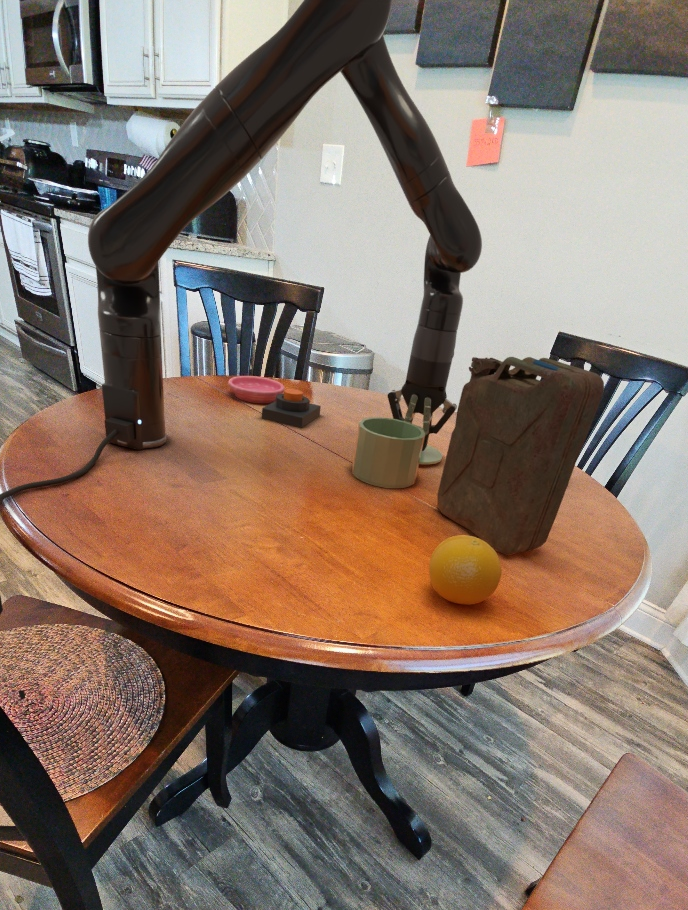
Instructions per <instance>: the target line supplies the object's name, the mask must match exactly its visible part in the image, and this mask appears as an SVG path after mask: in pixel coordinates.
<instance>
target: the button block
mask: <svg viewBox="0 0 688 910" xmlns="http://www.w3.org/2000/svg"><path fill="white" fill-rule="evenodd" d="M283 397H284V392H283V394H278V395H276V401H275V402H272V403H268V404H267V405H265V406H263V407H262V408H261V420H266V421H270V422H273V423H278V424H282V425H287V426H289V427H294V428H299V429H303V428H305V427H306V426H307V425H309V424H310V423H312V422H313V421H315V420H316V419H318V418H319V417H320V416H321V407H322V406H321V405H319V404H314V403H311V400H310V399H309V397H306V396H304V395H303V399H302V401H298V402H297V401H289V400H286V399H283Z"/></svg>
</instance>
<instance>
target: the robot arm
mask: <svg viewBox="0 0 688 910" xmlns="http://www.w3.org/2000/svg"><path fill="white" fill-rule="evenodd" d="M392 1H393V0H303V1H302V2H301V4H300V5H299V6H298V7H297V9H296V10H295V11H294V12H293V13H292V15H291V17H289V18H288V20H287V21H286V22H285V23H284V24H283V26H282V27H281V28H280V29H279V30H278V31H277V32H276V33H274V34H273V35H272V36H271V37H270V38H268V40H266V41H265V42H264V43H262V44H261V45H260V46H259V47H257V48H256V49H255V50H254V51H252V52H251V53H250V54H249V55H248V56H246V58H244V59H243V60H242V61H241V62H240V63H238V64H237V65H236V66H235V67H234V68H233V69H232V70H230V72H229V73H228V74H227V75H225V76H224V77H223V79H221V80H220V81H219V82H218V83H217V84H216V85H215V86H214V87H213V89H211V90H210V92H209V93H208V94H207V95H205V97H204V98H203V99H202V100H201V102H200V103H198V105H196V107H195V108H194V109H193V110H192V112H190V114H189V115H188V116H187V118H186V119H185V121H184V122H183V123H182V124H181V126H180V127H178V129H177V131H176V132H175V134H174V135H173V136H172V137H171V139H170V140H169V141H168V143H167V145H166V146H165V148H164V149H163V151H162V153H160V155H159V156H158V158H157V160H156V161H155V162H154V164H153V165H152V167H150V169H149V170H148V171H147V172H146V173H145V174H144V175H143V176H142V177H141V178H140V179H139V180H138V181H137V182H136V183H135V184H134V185H132V186H131V187H130V188H129V189H128V190H127V191H126V192H125V193H124V194H122V195H121V196H120V197H118V198H117V199H116V200H115V201H113V202H112V203H111V204H110V205H108V206H107V207H105V208H104V209H102V210H101V211H99V212H98V213H97V214H96V215H95V216H94V218H93V219H92V220H91V223H90V225H89V227H88V234H87V247H88V252H89V255H90V258H91V260H92V263H93V264H94V266H95V272H96V273H95V275H96V283H97V319H98V331H99V338H100V348H101V349H100V350H101V359H102V368H103V369H102V370H103V379H104V383H102V384H101V393H102V394H101V395H102V402H103V412H104V430H105V438H104V439H103V440H102V441H101V442H100V444H99V445H98V447H97V448H96V451H95V453H94V455H93V456H92V458H91V459H90V460H89V461H88V463H86V465H85V466H83V467H82V468H80V469H79V470H77V471H75V472H72V473H70V474H67V475H63V476H61V477H56V478H52V479H46V480H39V481H35V482H30V483H29V482H28V483H24V484H21V485H18V486H15V487H13V488H11V489H9V490H6V491H4V492H2V493H0V506H1V505H2V503H3V501H4V500H5V499H6V498H9V497H12V496H14V495H16V494H18V493H20V492H23V491H27V490H31V489H36V488H41V487H48V486H53V485H58V484H62V483H66V482H69V481H72V480H74V479H76V478H78V477H81V476H83V475H84V474H86V473H87V472H89V471H90V470H91V469H92V468H93V466H94V465H95V464H96V463H97V462H98V460H99V459H100V456H101V454H102V452H103V450H104V449H105V448H106V446H107V445H108V444H109V443H110V444H113V445H118V446H121V447H124V448H129V449H133V450H137V451H141V450H143V449H150V448H151V449H152V448H157V447H160V446H162V445H164V444H166V442H167V432H166V416H165V395H164V394H165V393H164V392H165V391H164V377H163V376H164V371H163V350H162V349H163V348H162V327H161V325H162V324H161V323H162V322H161V318H162V317H161V312H162V311H161V310H162V309H161V290H160V288H161V287H160V264H159V263H160V262H159V261H160V260H161V258H162V257H163V256H164V254H165V253H166V251H167V250H168V249H169V248H170V247H171V245H173V243H174V242H175V240H176V239H177V238H178V237H179V235H180V234H181V233H182V232H183V231H184V230H185V228H186V227H188V226H189V224H191V223H192V222H193V221H194V220H195V219H196V218H197V217H199V216H200V215H201V214H203V213H204V212H205V211H206V210H208V209H209V208H210V207H212V206H213V205H214V204H215V203H217V202H218V201H219V200H221V199H222V198H223V197H224V196H226V195H227V194H228V193H229V192H230V191H231V190H232V189H233V188H234V187H236V186H237V185H238V184H239V183H240V182H241V181H243V179H244V178H245V177H247V175H248V174H249V173H250V172H251V171H252V170H253V169H254V168H255V167H256V166H258V164H259V163H260V162H261V161H262V160H263V159H264V158H265V157H266V156H267V154H269V152H270V151H271V150H272V148H273V147H274V146H275V145H276V144H277V143H278V142H279V141H280V139H281V138H282V137H283V136H284V135H285V133H286V132H287V131H288V130H289V128H290V127H291V126H292V125H293V124H294V122H295V121H296V120H297V119H298V117H299V116H300V115H301V113H302V111H303V110H304V109H305V108H306V107H307V105H308V104H309V102H310V101H311V100H312V99H313V97H314V96H315V95H317V94H318V92H319V91H320V90H321V89H323V88H324V86H325V85H327V84H328V83H329V82H330V81H331V80H332V79H333V78H335V77H336V76H337V75H338V74H339V73H341V75H342V77H343V78H344V81H346V83H347V85H348V86H349V87H350V89H351V91H352V93H353V94H354V96H355V98H356V99H357V101H358V103H359V105H360V106H361V108H362V110H363V111H364V113H365V115H366V117H367V119H368V121H369V123H370V125H371V126H372V128H373V131H374V133H375V134H376V137H377V139H378V141H379V143H380V145H381V147H382V149H383V151H384V153H385V156H386V157H387V161H388V162H389V164H390V166H391V169H392V170H393V173H394V175H395V177H396V179H397V182H398V184H399V187H400V188H401V190H402V192H403V194H404V196H405V199H406V201H407V203H408V205H409V207H410V209H411V211H412V212H413V214H414V215H415V216H416V217H417V218H418V219H419V220H420V221H421V222H423V224H424V225H425V227H426V229H427V231H428V233H429V237H428V239H427V243H426V247H425V253H424V263H423V265H424V266H423V296H422V300H421V304H420V311H419V315H418V319H417V320H418V321H417V326H416V329H415V332H414V335H413V340H412V344H411V350H410V355H409V361H408V367H407V372H406V377H405V381H404V384H403V385H402V387H401V388H400V389H397V390H396V389H392V390H390V392H388V393H387V400H388V404H389V408H390V412H391V415H392V419H397V420H402V421H406V422H409V423H411V424H413V421H414V418H415V416H416V414H420V415H422V428H423V430H424V432H425V439H424V443H423V448H422V451H424V450H425V448H426V447H427V445H428V443H429V437H430V435H431V434H435V435H436V434H438V433H439V432H440V431H441V430H442V428H444V425H445V424H447V422H448V421H449V419H450V418H451V417H452V416H453V415H454V413H455V412H456V411H457V410H458V405H457V403H452V401H450V400H449V399H447V397H448V396H447V390H446V389H447V386H448V385H447V384H448V381H449V380H448V379H449V376H450V371H451V367H452V362H453V359H454V356H455V349H456V343H457V335H458V330H459V325H460V320H461V316H462V311H463V305H464V297H463V294H462V292H461V290H460V282H461V276H462V275H461V274H464V273H466V272H469V271H470V270H472V269H473V268H474V267H475V266H476V264H478V262H479V259H480V257H481V254H482V249H483V239H482V234H481V231H480V227H479V225H478V223H477V220H476V218H475V216H474V215H473V213H472V211H471V209H470V208H469V206H468V204H467V202H466V200H464V198H463V197H462V195H461V193H460V192H459V190H458V188H457V187H456V185H455V184H454V181H453V178H452V174H451V173H450V170H449V167H448V165H447V163H446V161H445V157H444V156H443V153H442V151H441V149H440V146H439V144H438V142H437V140H436V138H435V135H434V133H433V131H432V130H431V128H430V125H429V124H428V122H427V121H426V119H425V117H424V116H423V114H422V112H421V111H420V110H419V109H418V107H417V105H416V103H415V101H413V99H412V97H411V96H410V94H409V93H408V90H407V89H406V87H405V86H404V84H403V82H402V79H401V78H400V76H399V74H398V72H397V70H396V67H395V65H394V63H393V61H392V58H391V55H390V52H389V50H388V46H387V44H386V40H385V36H384V32H385V30H386V27H387V25H388V23H389V19H390V15H391V11H392V5H393V4H392ZM402 397H403V401H404V402H405V405H406V407H407V410H406V413H405V416H404V415H403V411H402V407H401V404H400V402H401V401H402ZM442 405H443V407H442V413H443V415H442V416H441V417H440V418H439V420H438V421H437V422H436V424H432V423H433V417H434V412H435V411H436V410H438V408H441V406H442ZM2 601H3V600H2V596H1V595H0V616H2V615H1V614H2V613H3V611H4V607H3V602H2ZM17 691H18V695H19V698H21V699H23V698H25V696H26V693H25V690H23V689H22V690H20V689H19V690H17ZM21 699H20V700H21Z"/></svg>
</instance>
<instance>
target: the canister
mask: <svg viewBox="0 0 688 910" xmlns="http://www.w3.org/2000/svg"><path fill="white" fill-rule="evenodd" d="M511 367H513V368H511ZM468 370H469V372H470V379H469V381H467V382H466V383H465V384H464V385H463V387H462V389H461V394H460V398H459V402H458V405H457V409H456V417H455V425H454V428H453V430H452V432H451V435H450V439H449V444H448V448H447V451H446V456H445V461H444V464H443V469H442V473H441V474H442V475H441V477H440V482H439V485H438V490H437V496H436V497H437V507H438V509H439V511H440V513H441V514H442V515H443V516H445V517H447V518H449V519H450V520H452V521H453V522H455V523H456V524H458V525H460V526H461V527H462V528H463V527H464V528H465V529H467V530H469V531H470V532H471V533H473V534H474V535H475V536H477V538H479V539H481V540H483V541H484V542H486V543H487V544H488V545H490V546H491V547H492V548H493V549H494V551H495V552H498V553H500V554H503V555H506V556H507V555H508V556H511V555H515V554H520V553H521V554H522V553H526V552H531V551H534V550H536V549H538V548H541V547H542V546H543V545H544V544H545V543H547V540H548V538H549V535H550V533H551V531H552V528H553V525H554V522H556V521H555V520H556V518H557V516H558V514H559V510H560V507H561V504H562V502H563V499H564V496H565V494H566V491H567V488H568V486H569V483H570V481H571V478H572V475H573V472H574V469H575V466H576V463H577V461H578V459H579V456H580V453H581V451H582V449H583V448H584V444H585V442H586V439H587V436H588V434H589V431H590V429H591V427H592V423H593V421H594V419H595V416H596V413H597V411H598V408H599V406H600V403H601V400H602V398H603V395H604V390H605V382H604V380H603V377H601V376H600V375H599V374H598V373H596V372H593V371H590V370H587V369H585V368H581V367H577V366H573V365H570V364H567V363H565V362H560V361H557V360H554V359H551V358H548V357H541V358H539V359H537V358H534V357H531V356H527V357H524V358H522V359H521V358H518V357H515V356H508V357H505V359H504V360H503V361H501V360H499V359H497V358H493V357H489V358H488V357H483V358H481V357H477V356H473V357H471V364H470V366H469V367H468ZM538 377H539V378H542V380H540V379H537V378H538Z"/></svg>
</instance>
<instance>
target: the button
mask: <svg viewBox="0 0 688 910" xmlns="http://www.w3.org/2000/svg"><path fill="white" fill-rule="evenodd" d="M283 393H284V397H283V399H286V400H289V401H297V402H298V401H302V399H303V396H304V392H303V390H300V389H297V388H284V392H283Z"/></svg>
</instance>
